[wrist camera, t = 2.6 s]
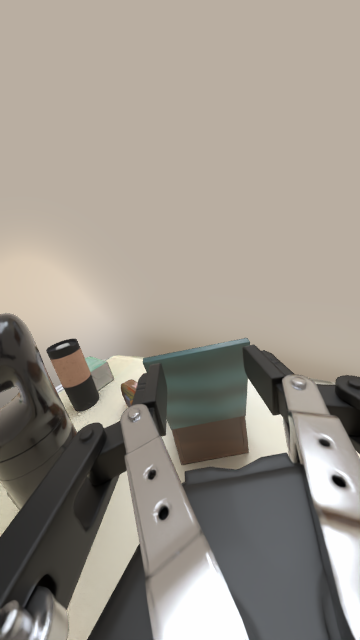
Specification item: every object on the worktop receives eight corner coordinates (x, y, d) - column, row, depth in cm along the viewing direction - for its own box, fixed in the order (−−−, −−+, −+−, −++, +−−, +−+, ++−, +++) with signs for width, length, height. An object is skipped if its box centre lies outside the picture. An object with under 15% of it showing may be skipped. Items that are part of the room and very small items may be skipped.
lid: (142, 358, 21) (142, 362, 21) (247, 337, 21) (250, 341, 20) (170, 425, 30) (171, 429, 30) (243, 411, 30) (245, 415, 29)
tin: (124, 404, 51) (116, 380, 48) (134, 397, 53) (126, 373, 50) (157, 433, 40) (147, 403, 38) (167, 423, 42) (159, 394, 40)
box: (95, 371, 73) (89, 355, 70) (114, 379, 64) (108, 361, 62) (77, 382, 67) (70, 365, 65) (96, 392, 59) (88, 373, 57)
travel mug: (71, 403, 56) (45, 347, 50) (96, 390, 60) (74, 336, 54) (76, 416, 50) (46, 354, 44) (103, 400, 54) (79, 341, 48)
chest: (178, 402, 48) (171, 374, 45) (224, 393, 47) (220, 365, 45) (181, 465, 33) (171, 429, 30) (249, 452, 33) (245, 415, 30)
